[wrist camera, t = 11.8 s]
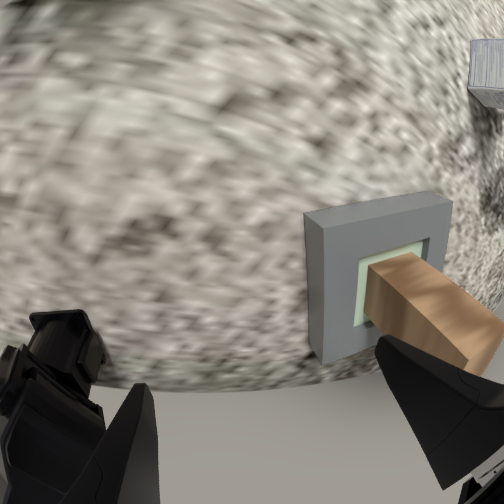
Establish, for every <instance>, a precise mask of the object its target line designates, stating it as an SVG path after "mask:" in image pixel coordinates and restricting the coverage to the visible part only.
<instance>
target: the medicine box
mask: <svg viewBox="0 0 504 504" xmlns="http://www.w3.org/2000/svg"><path fill="white" fill-rule="evenodd" d="M468 90H469V91H470V92H471V93H472V94H473V95H474V96H475V97H476V98H477V99H478V100H479V101H480V102H481V103H482V104H483V106H484V107H491V108H498V109H504V38H488V39H471V59H470V73H469V84H468Z"/></svg>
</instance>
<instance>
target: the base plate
mask: <svg viewBox="0 0 504 504" xmlns="http://www.w3.org/2000/svg"><path fill="white" fill-rule="evenodd" d="M452 207H453V201H451V200H449V199H447V198H444V197H442V196H440V195H437V194H435V193H432V192H430V191H424V192H418V193H412V194H406V195H400V196H394V197H388V198H382V199H376V200H371V201H365V202H359V203H354V204H348V205H343V206H338V207H332V208H327V209H322V210H316V211H311V212H306V213H304V225H305V241H306V259H307V280H308V311H309V343H310V345H311V347H312V349H313V350H314V352H315V354H316V356H317V357H318V359H319V361H320V363H321V365H325V364H328V363H331V362H334V361H337V360H339V359H342V358H345V357H347V356H350V355H352V354H355V353H358V352H360V351H363V350H365V349H368V348H370V347H372V346H375V345H377V342H378V339H379V337H380V336H383V334H382V333H381V332H380V330H379V329H378V328H377V327H376V326H375V325H374V323H373V322H372V321H371V320H370V319H369V318H368V317H367V315H366V314H365V313H364V312H363V311H364V302H365V293H366V283H367V271H368V265H370V264H373V263H376V262H379V261H383V260H386V259H389V258H392V257H396V256H399V255H402V254H405V253H408V252H413V253H414V254H415V255H417V256H418V257H420V258H421V259H423V260H424V261H425V262H427V263H428V264H430V265H431V266H433V267H434V268H435V269H437V270H438V271H439V272H441V273H442V269H443V264H444V259H445V254H446V249H447V243H448V237H449V230H450V223H451V216H452Z"/></svg>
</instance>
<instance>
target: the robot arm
mask: <svg viewBox="0 0 504 504" xmlns="http://www.w3.org/2000/svg"><path fill="white" fill-rule="evenodd" d="M78 314H80V315H81V316H79V315H78ZM34 318H35V319H34ZM29 319H30V321H31V323H32V325H33V327H34V329H35V332H34V334H33V336H32V338H31V340H30V342H29V344H28V346H26V345H25V344H22V345H21V346H20V347H19V348H18V349H17V348H16V347H12V346H9V345H8V346H7V347H5V349H4V351H3V353H2V355H1V357H0V504H160V493H159V471H158V435H157V427H156V418H155V410H154V400H153V396H152V394H151V392H150V390H149V388H148V386H147V384H146V383H136V384H134V385H133V387H132V389H131V390H130V392H129V394H128V395H127V397H126V399H125V400H124V402H123V404H122V405H121V407H120V408H119V410H118V412H117V414H116V415H115V417H114V419H113V420H112V422H111V424H110V425H109V427H108V429H107V430H106V427H105V422H104V416H103V409H102V407H100V406H99V405H98V404H95V403H93V402H92V401H90V400H89V399H88V398H89V393H90V388H91V384H92V383H95V382H96V380H97V376H98V371H99V367H100V365H103V364H105V362H106V358H105V356H104V354H103V349H102V347H101V345H100V343H99V341H98V339H97V336H96V334H95V332H94V331H93V330H92V328H91V326H90V323H89V321H88V319H87V316H86V314H85V312H84V311H83V310H80V309H77V310H64V311H51V312H36V313H31V315H30V316H29ZM375 357H376V359H377V361H378V363H379V366H380V368H381V370H382V372H383V375H384V377H385V379H386V381H387V384H388V386H389V388H390V390H391V391H392V393H393V395H394V396H395V399H396V400H397V402H398V404H399V406H400V408H401V409H402V411H403V413H404V415H405V417H406V418H407V421H408V422H409V424H410V426H411V428H412V430H413V432H414V434H415V436H416V437H417V439H418V441H419V443H420V445H421V447H422V449H423V451H424V453H425V455H426V457H427V459H428V461H429V464H430V466H431V468H432V469H433V472H434V473H435V476H436V478H437V480H438V482H439V484H440V486H441V488H442V490H445V489H446V488H448V487H450V486H451V485H453V484H454V483H456V482H457V481H458V480H460V479H462V478H463V477H464V476H466V475H467V474H469V473H471V474H472V477H470V478H469V479H468V480H467V481H466V482H465V483H464V484H463V486H462V490H461V494H460V498H459V502H458V504H504V384H499V383H496V382H493V381H490V380H487V379H484V378H482V377H479V376H477V375H474V374H472V373H469V372H467V371H465V370H463V369H460V368H458V367H456V366H454V365H452V364H450V363H448V362H446V361H443V360H441V359H439V358H437V357H435V356H433V355H431V354H429V353H427V352H425V351H423V350H421V349H419V348H416V347H414V346H412V345H410V344H408V343H406V342H404V341H402V340H400V339H398V338H396V337H394V336H392V335H389V334H386V335H383V336H380V337H379V339H378V342H377V345H376V348H375Z"/></svg>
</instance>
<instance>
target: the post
mask: <svg viewBox="0 0 504 504" xmlns="http://www.w3.org/2000/svg"><path fill="white" fill-rule="evenodd" d="M363 312H364V313H365V314H366V315H367V317H368V318H369V319H370V320H371V321H372V322H373V323H374V325H375V326H376V327H377V328H378V329H379V330H380V332H381V333H382V334H383V335H386V334H389V335H392V336H394V337H396V338H398V339H400V340H402V341H404V342H406V343H408V344H410V345H412V346H414V347H416V348H419V349H421V350H423V351H425V352H427V353H429V354H431V355H433V356H435V357H437V358H439V359H441V360H443V361H446V362H448V363H450V364H452V365H454V366H456V367H458V368H460V369H463V370H465V371H467V372H469V373H472V374H474V375H477V376H479V377H480V376H481V375H482V374H483V373H484V371H485V370H486V368H487V366H488V365H489V363H490V361H491V359H492V358H493V356H494V354H495V352H496V350H497V348H498V347H499V345H500V343H501V341H502V338H503V337H504V323H503V322H502V321H501V320H500V319H499V318H498V317H496V316H495V315H494V314H493V313H492V312H491V311H489V310H488V309H487V308H486V307H485V306H483V305H482V304H481V303H480V302H479V301H477V300H476V299H475V298H474V297H472V296H471V295H470V294H469V293H467V292H466V291H465V290H463V289H462V288H461V287H460V286H458V285H457V284H456V283H454V282H453V281H452V280H450V279H449V278H448V277H446V276H445V275H444V274H442V273H441V272H439V271H438V270H437V269H435V268H434V267H433V266H431V265H430V264H428V263H427V262H425V261H424V260H423V259H421V258H420V257H418V256H417V255H415V254H414V253H413V252H408V253H405V254H402V255H399V256H396V257H392V258H389V259H386V260H383V261H379V262H376V263H373V264H370V265H368V271H367V283H366V293H365V302H364V311H363Z"/></svg>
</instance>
